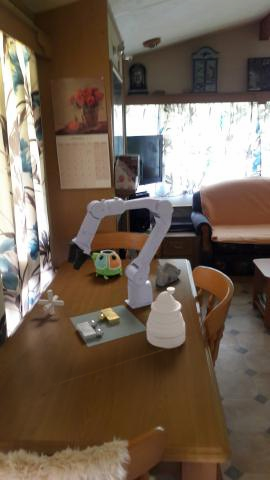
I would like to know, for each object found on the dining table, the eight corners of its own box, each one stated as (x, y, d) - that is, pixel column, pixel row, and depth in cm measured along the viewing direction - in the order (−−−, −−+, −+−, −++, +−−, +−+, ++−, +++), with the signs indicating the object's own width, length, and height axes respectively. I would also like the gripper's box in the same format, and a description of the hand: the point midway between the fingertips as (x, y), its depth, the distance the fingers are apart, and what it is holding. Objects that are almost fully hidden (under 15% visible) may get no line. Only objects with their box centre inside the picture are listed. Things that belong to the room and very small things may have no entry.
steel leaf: (103, 336, 122) (103, 330, 121) (85, 341, 119) (84, 335, 118) (94, 324, 129) (94, 318, 129) (77, 329, 127) (76, 323, 126)
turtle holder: (104, 266, 189) (102, 244, 186) (127, 274, 177) (126, 251, 173) (85, 272, 181) (83, 250, 178) (108, 281, 168) (106, 257, 165)
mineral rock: (179, 277, 171) (179, 257, 168) (185, 285, 160) (185, 264, 158) (153, 279, 169) (152, 259, 166) (157, 288, 159) (156, 267, 156)
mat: (123, 305, 144) (122, 304, 144) (148, 330, 125) (148, 329, 125) (69, 318, 135) (69, 318, 135) (88, 347, 116) (88, 346, 116)
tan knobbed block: (119, 322, 130) (119, 316, 130) (103, 327, 128) (102, 321, 127) (110, 312, 138) (110, 306, 137) (94, 316, 135) (94, 310, 135)
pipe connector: (59, 321, 133) (56, 297, 131) (34, 319, 135) (31, 295, 133) (69, 309, 143) (66, 286, 140) (45, 307, 145) (43, 285, 142)
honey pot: (188, 330, 124) (188, 282, 119) (180, 351, 112) (180, 298, 107) (152, 325, 128) (151, 278, 123) (141, 345, 116) (139, 294, 111)
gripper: (71, 223, 134) (58, 256, 136) (83, 233, 122) (68, 269, 123) (88, 230, 138) (74, 262, 139) (101, 240, 125) (86, 275, 127)
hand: (72, 265), depth 131 cm, fingers open, 7 cm apart
